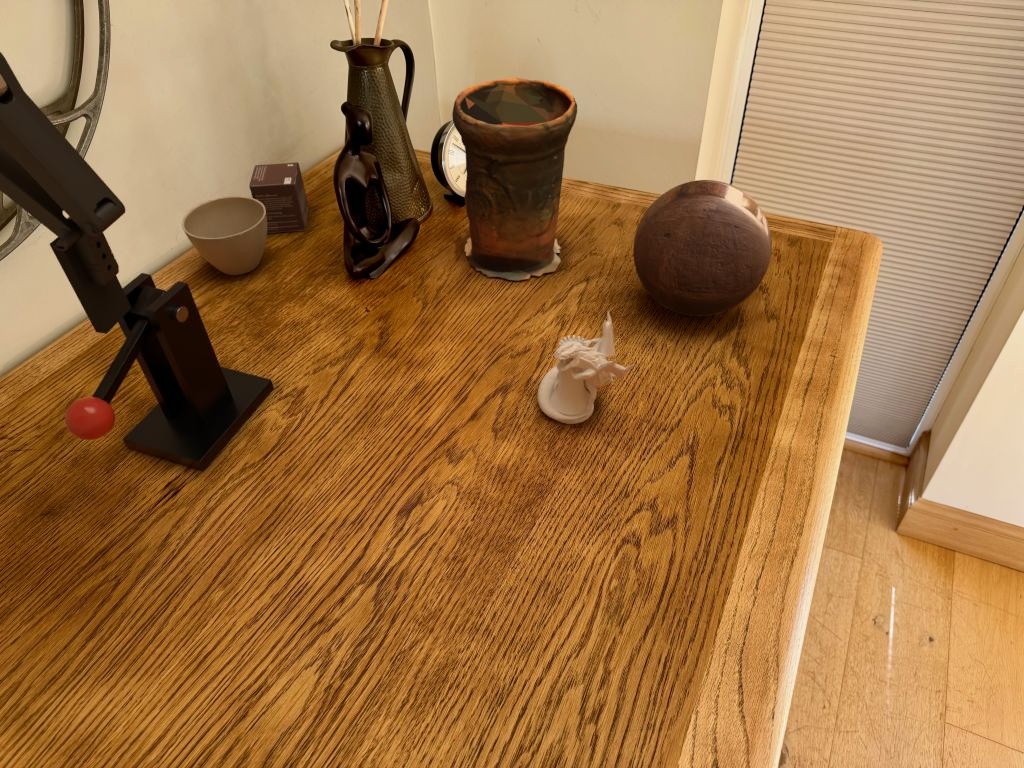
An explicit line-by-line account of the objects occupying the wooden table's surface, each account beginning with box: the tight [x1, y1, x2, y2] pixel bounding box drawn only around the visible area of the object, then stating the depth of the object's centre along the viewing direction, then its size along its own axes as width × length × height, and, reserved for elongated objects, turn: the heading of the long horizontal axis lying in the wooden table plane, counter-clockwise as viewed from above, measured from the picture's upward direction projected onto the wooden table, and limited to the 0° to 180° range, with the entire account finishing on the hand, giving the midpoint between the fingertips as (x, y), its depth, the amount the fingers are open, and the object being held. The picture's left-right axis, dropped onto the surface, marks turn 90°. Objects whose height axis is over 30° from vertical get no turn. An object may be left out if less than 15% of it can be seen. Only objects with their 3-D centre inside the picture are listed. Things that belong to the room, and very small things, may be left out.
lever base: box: [117, 272, 275, 471], centre depth 69 cm, size 12×9×16 cm
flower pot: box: [181, 195, 268, 276], centre depth 92 cm, size 10×10×7 cm
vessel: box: [451, 77, 578, 281], centre depth 89 cm, size 14×14×20 cm
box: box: [248, 162, 310, 234], centre depth 99 cm, size 6×6×7 cm
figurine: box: [537, 310, 636, 425], centre depth 69 cm, size 11×8×12 cm
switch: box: [64, 286, 167, 441], centre depth 62 cm, size 14×4×4 cm, turn 160°
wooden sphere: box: [632, 179, 773, 317], centre depth 81 cm, size 15×15×15 cm
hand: (22, 308), depth 48 cm, fingers open, 13 cm apart
